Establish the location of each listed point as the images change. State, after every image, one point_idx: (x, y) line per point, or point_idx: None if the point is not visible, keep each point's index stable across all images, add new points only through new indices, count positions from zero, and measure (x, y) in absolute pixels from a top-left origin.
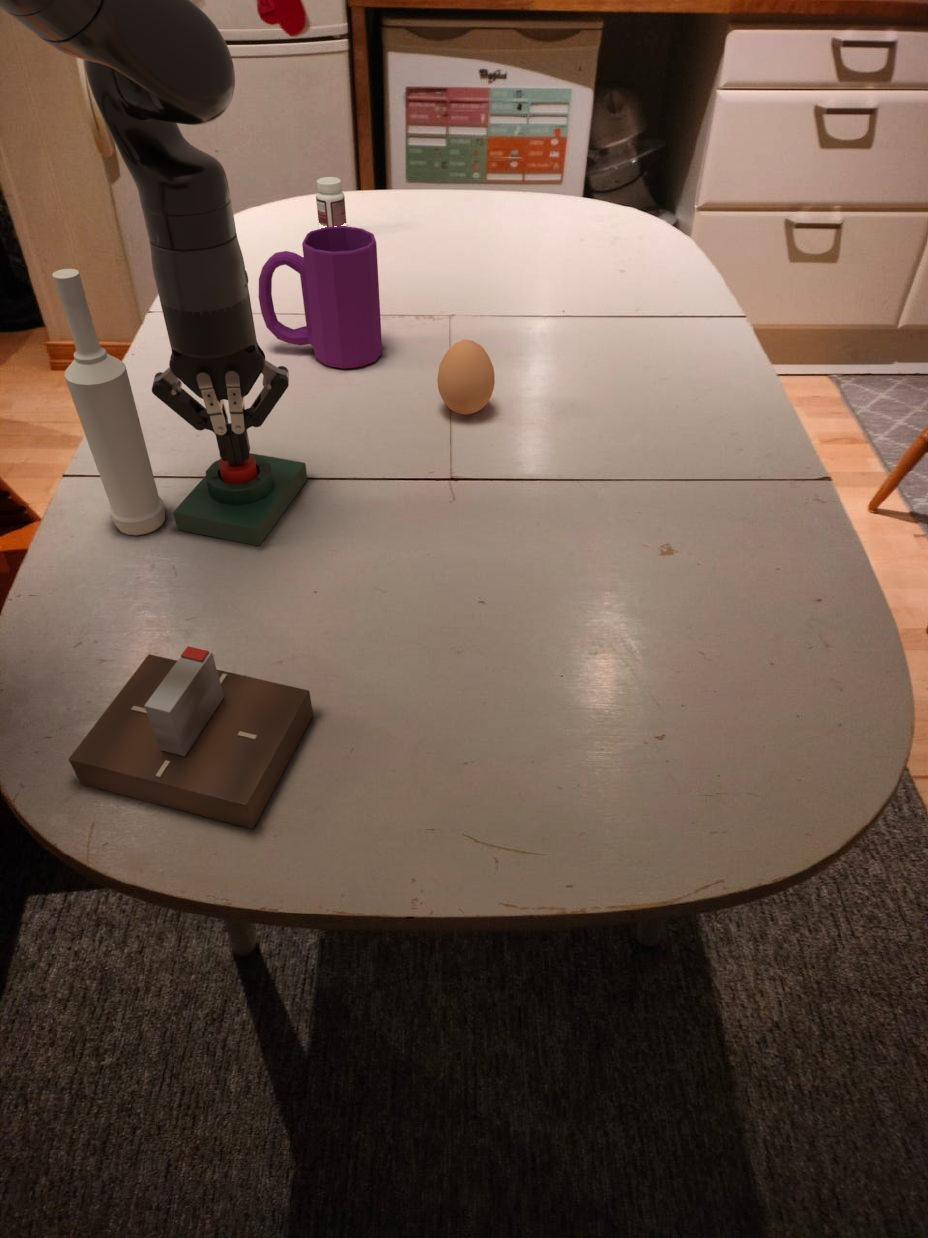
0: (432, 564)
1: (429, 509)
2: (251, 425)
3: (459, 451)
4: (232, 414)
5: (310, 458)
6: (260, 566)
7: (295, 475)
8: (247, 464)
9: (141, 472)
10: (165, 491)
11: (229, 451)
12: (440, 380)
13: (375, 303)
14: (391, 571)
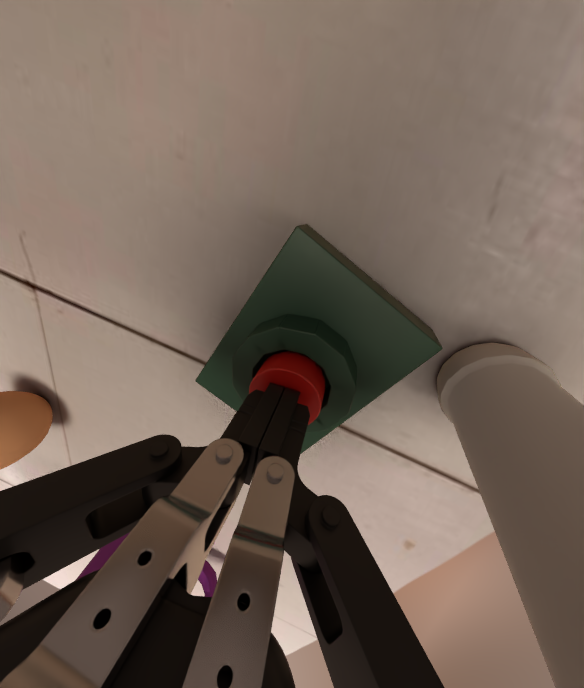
0: (12, 37)
1: (48, 225)
2: (188, 449)
3: (36, 338)
4: (205, 507)
5: (205, 403)
6: (318, 150)
7: (210, 358)
8: (264, 383)
9: (534, 442)
10: (411, 427)
11: (283, 414)
12: (12, 440)
13: (79, 576)
14: (78, 34)
